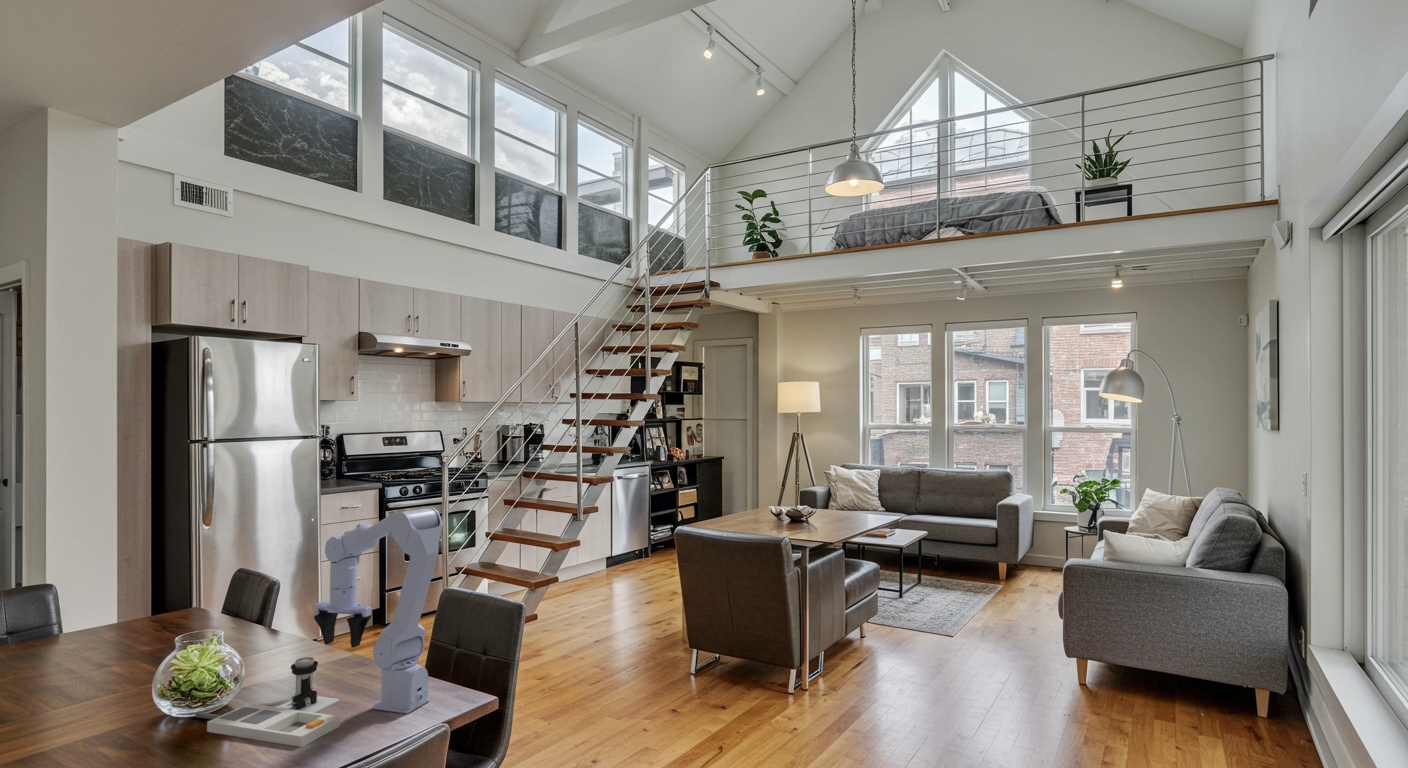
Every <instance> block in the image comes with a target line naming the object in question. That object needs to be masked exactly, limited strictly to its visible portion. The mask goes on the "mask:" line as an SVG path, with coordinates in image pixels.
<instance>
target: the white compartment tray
mask: <svg viewBox="0 0 1408 768" xmlns="http://www.w3.org/2000/svg"><path fill="white" fill-rule="evenodd" d="M194 716H195V718H199V719H204V720H205V719H206V720H208V721H207V722H206V732H208V733H212V734H217V735H218V734H220V735H226V736H231V737H239V738H245V739H249V740H257V741H263V742H268V743H275V744H281V745H288V746H294V747H301V748H303V747H305V746H306V745H308V744H310V743H312V742H314V741H315V740H317V739H319V738H321V737H324V736H325V735H327V734H329V733H330V732H332V731H333V730H334V731H335V730H337V728H340V727H341V716H340V715H334V714H333V715H332V714H327V713H319V712H317V713H313V712H306V711H299V710H292V709H285V708H278V706H270V705H262V704H256V703H247V704H245V705H242V706H240V707H239V708H235V709H234V710H231V711H228V712H226V713H224V714H222V715H220V714H212V713H207V712H206V713H205V712H202V711H199V712H198V711H197V712H196V713H195V715H194ZM296 723H304V725H302V726H300V727H299V728H296V729H294V730H292V731H290V732H289V731H288V732H287V731H283V730H284V729H286V728H288V727H291V726H292V725H294V724H296Z"/></svg>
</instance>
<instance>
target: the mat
mask: <svg viewBox="0 0 1408 768" xmlns="http://www.w3.org/2000/svg"><path fill="white" fill-rule="evenodd" d="M339 702H341V699H340V698H334V697H333V698H332V697H327V696H320V695H319V696H318V695H317V702H316V703H315V704H311V705H310V706H306V707H303V708H301V709H299V711H306V712H313V713H319V712H322V711H323V710H326V709H328V708H329V707H331V706H333V705H335V704H338V703H339ZM290 703H292V699H291V700H290V701H287V702H285V703H283V704H281V705H278V706H277V707H278V708H285V709H288V708H291V707H292V705H291V704H290ZM288 704H290V706H287V705H288ZM292 710H297V709H292Z"/></svg>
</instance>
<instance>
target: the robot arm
mask: <svg viewBox="0 0 1408 768" xmlns="http://www.w3.org/2000/svg"><path fill="white" fill-rule="evenodd" d="M355 527H356V528H354V529H352V530H346V531H344V533H343V534H342V535H340V536H331V537H330V538H329V539H328V540H327V541H326V543H325V544H324V554H325V557H326V559H327V560H328V561H329V562H330V565H329V571H330V572H329V602H328V601H326V602H325V601H321V602H318V603H315V604H314V613H317V614H315V615H314V621H315V623H316V624H317V625H318V627H319V630H320V632H321V635H322V639H323V643H324V645H329V644H331V643H334V642H335V641H334V640H335V630H336V629H335V628H336V622H337V619H338V615H339V614H340V615H350V617H348V618H346V621H347V624H348V628H349V632H350V633H349V634H350V646H351V648H357V647H358V646H360V645H361V642H362V637H363V635H364V631H365V629H366V627H367V625H368V623H369V621H370V620H371V618H372V606H367V605H364V604H362V603H361V604H360V603H357V585H358V584H357V583H358V582H357V581H358V577H357V576H358V566H359V564H360V559H361V556H362V554H363V553H365V552H366V551H368V550H371V549H373V548H375V547H376V546H377V545H378V544H379V542H380V539H382V538H385V537H386V536H392V538H393V540H395V542H396V543H397V545H398V546H399V548H400V549H401V550H402V552H403V554H406V555H409V557H410V558H409V561H408V565H407V569H406V572H405V576H404V578H403V583H402V587H401V590H400V593H399V596H398V597H399V598H398V600H397V601H398V602H397V604H396V606H395V607H396V608H395V610H394V611H395V612H394V615H393V619H392V621H391V622H390V623H389V624H388V625H387V626H386V627H385V628H384V629H383V630H382V631H381V632H380V635H379V638H378V639H377V640H376V641H375V643H374V645H373V647H372V648H373V649H372V657H373V660H374V662H375V664H376V665H377V666H378V668H380V669H381V672H380V673H381V675H380V676H381V677H380V679H381V681H380V682H381V684H380V689H381V691H380V701H379V702H377V703H375V704H374V705H372V706H371V709H372V710H379V711H387V712H394V713H402V714H410V713H411V712H412V711H414V710H416V709H417V708H419V707H421V706H423V705H425V704H426V703H429V702H430V700H431V699H430V697H429V696H428V695H429V672H428V670H427V669H426V667H425V666H421V665H419V664H418V662H419V661H420V656H421V655H422V654H423V653H424V650H425V645H426V644H425V636H426V629H425V628H424V626H423V625H422V624H420V620H421V616H422V613H423V610H424V609H423V608H424V606H425V603H426V600H427V599H426V598H427V595H428V592H429V587H430V585H431V581H432V579H433V578H432V577H433V574H434V570H435V568H436V564H437V560H438V556H439V544H440V543H439V542H440V538H441V535H442V533H443V532H442V531H443V527H444V521H443V519H442V517H441V515H440V512H439V511H438V510H437V509H436V508H435V507H433V506H429V507H428V506H427V507H426V508H419V509H412V510H405V511H396V512H394V513H389V514H388V516H387V517H385V518H383V519H381V520H380V521H377V522H376V523H375V524H369V523H365V522H363V523H358V524H356V526H355ZM351 615H353V616H351Z"/></svg>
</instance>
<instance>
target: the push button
mask: <svg viewBox="0 0 1408 768" xmlns="http://www.w3.org/2000/svg"><path fill="white" fill-rule="evenodd" d="M318 665H319V662H318V661H317V660H315V659H314V658H313V657H311V656H310V657H307V656H306V657H301V658H297V659H296V660H295V661H294V663H293V664H291V665H290V669H291V674H293V675H295V692H294V695H292V697H291V700H292V703H290V704H291V705H292V707H291V708H288V709H297V710H299V709H301V708H303V707H306V706H310V705H311V704H315V703H316V702H317V696H318V691H317V690H313V689H314V687H313V673H314V672H316V671H317V670H318V669H317V668H318ZM290 704H288V705H287V706H290Z"/></svg>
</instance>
